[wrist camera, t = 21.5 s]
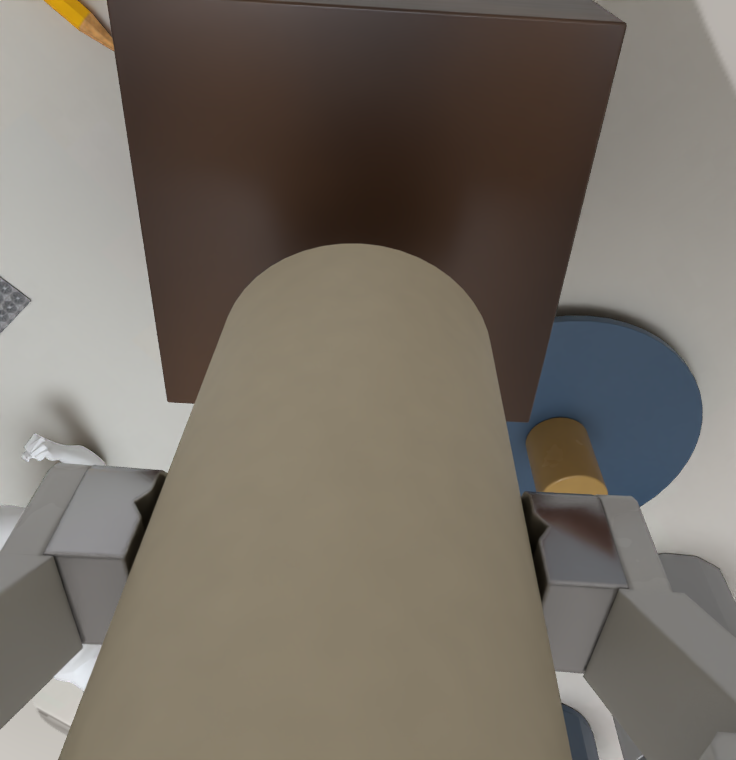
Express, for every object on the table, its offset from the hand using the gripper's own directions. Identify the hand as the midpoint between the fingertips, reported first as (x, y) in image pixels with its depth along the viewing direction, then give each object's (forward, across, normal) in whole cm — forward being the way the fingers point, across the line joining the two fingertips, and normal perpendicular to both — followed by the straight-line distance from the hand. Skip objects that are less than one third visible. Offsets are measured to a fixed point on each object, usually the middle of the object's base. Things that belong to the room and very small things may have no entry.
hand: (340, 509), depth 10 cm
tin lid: (+20, -10, +14) cm, 26 cm away
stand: (+20, 0, 0) cm, 20 cm away
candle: (+4, 0, 0) cm, 4 cm away
